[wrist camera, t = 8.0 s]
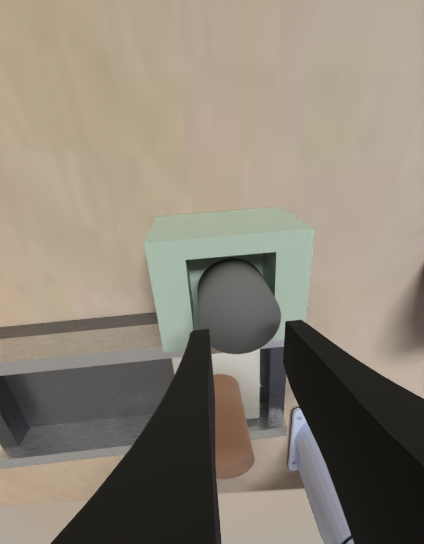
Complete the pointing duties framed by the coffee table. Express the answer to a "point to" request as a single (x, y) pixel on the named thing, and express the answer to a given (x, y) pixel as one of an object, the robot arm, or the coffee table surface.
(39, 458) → the grey rectangular tray
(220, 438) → the plaque with round peg
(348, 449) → the robot arm
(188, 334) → the cabinet
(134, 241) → the coffee table surface
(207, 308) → the button
